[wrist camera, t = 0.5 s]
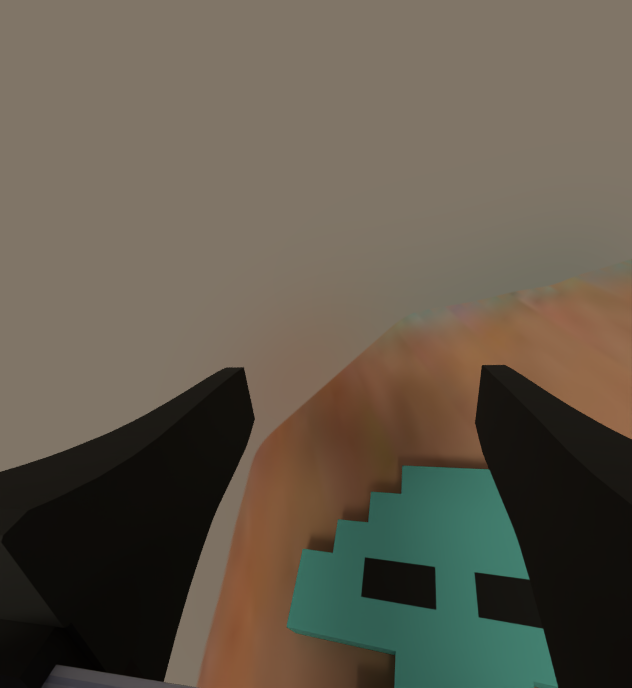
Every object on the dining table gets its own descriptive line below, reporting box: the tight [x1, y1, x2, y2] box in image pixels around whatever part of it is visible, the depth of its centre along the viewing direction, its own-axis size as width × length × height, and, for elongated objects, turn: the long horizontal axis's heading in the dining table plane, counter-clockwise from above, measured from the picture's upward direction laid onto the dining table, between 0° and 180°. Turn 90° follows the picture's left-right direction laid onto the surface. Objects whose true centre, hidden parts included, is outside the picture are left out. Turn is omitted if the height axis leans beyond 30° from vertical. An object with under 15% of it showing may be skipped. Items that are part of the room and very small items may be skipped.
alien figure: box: [287, 466, 558, 688], centre depth 20 cm, size 20×2×20 cm
